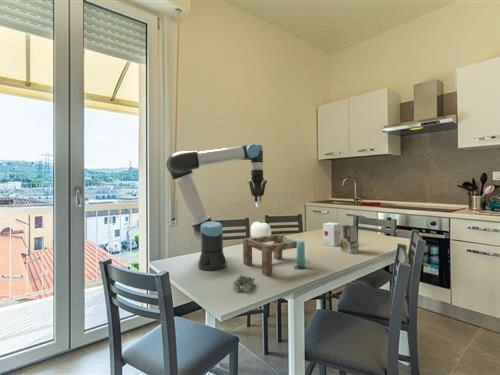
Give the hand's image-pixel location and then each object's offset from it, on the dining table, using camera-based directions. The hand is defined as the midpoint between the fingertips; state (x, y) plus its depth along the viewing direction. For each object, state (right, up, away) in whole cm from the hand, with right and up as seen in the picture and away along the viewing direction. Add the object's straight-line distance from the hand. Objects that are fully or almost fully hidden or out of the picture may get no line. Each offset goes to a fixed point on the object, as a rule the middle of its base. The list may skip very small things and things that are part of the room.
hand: (257, 206), depth 174 cm
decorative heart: (+3, -29, +18) cm, 34 cm away
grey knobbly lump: (-8, -31, -56) cm, 64 cm away
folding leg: (+18, -29, -25) cm, 42 cm away
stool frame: (+8, -30, -27) cm, 41 cm away
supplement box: (+53, -28, +20) cm, 63 cm away
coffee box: (+58, -28, 0) cm, 65 cm away
